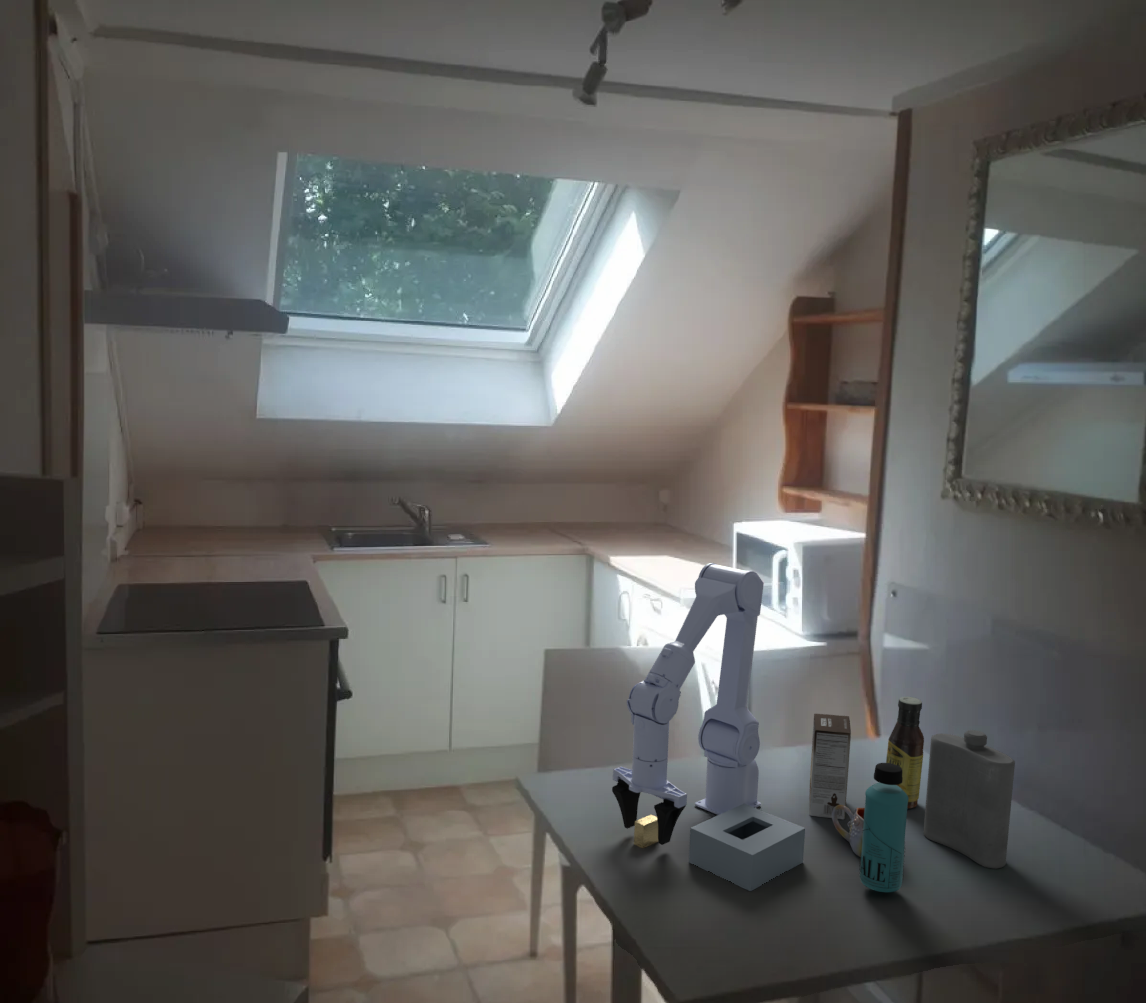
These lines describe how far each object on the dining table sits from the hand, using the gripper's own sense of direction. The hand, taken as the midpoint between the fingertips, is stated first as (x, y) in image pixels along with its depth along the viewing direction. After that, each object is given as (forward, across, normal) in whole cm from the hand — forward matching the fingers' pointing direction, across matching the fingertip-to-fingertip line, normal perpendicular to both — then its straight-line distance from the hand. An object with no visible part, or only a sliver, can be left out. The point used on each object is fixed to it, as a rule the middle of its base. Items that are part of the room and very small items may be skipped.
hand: (646, 834), depth 171 cm
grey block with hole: (+1, +15, +7) cm, 17 cm away
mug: (+2, +24, +26) cm, 35 cm away
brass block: (+2, 0, 0) cm, 2 cm away
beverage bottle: (+2, +34, +15) cm, 37 cm away
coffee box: (+2, +12, +35) cm, 37 cm away
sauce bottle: (+2, +20, +47) cm, 51 cm away
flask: (+2, +36, +39) cm, 53 cm away
